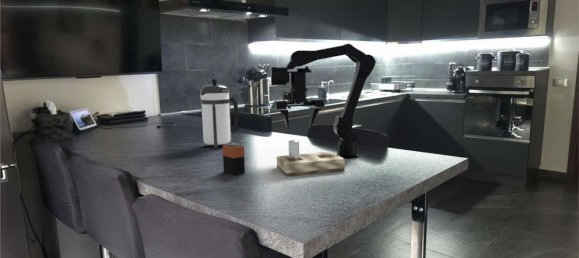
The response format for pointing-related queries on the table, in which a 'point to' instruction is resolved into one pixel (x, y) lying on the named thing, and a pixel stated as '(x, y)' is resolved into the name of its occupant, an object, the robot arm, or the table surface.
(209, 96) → the coffee press
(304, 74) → the robot arm
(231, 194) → the table surface
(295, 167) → the bore block
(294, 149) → the pin
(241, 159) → the battery
